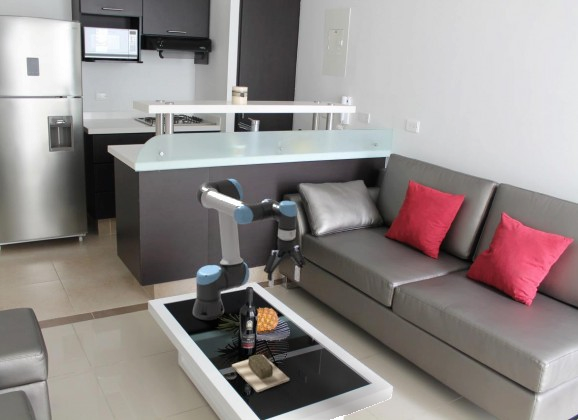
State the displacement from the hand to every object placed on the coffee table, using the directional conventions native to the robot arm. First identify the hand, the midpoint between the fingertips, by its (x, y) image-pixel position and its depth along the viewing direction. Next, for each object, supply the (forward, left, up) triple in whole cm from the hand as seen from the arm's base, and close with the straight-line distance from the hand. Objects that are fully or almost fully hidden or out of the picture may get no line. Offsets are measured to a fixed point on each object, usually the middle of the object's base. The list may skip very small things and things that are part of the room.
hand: (284, 283), depth 238 cm
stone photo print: (+16, -21, -29) cm, 39 cm away
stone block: (+16, -21, -28) cm, 38 cm away
